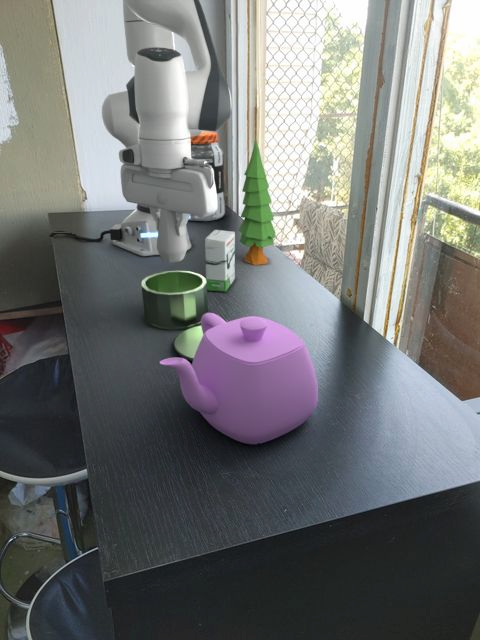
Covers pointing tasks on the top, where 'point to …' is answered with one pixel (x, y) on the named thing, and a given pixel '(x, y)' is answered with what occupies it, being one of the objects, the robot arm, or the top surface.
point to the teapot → (249, 378)
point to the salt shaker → (169, 235)
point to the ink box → (220, 260)
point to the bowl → (174, 299)
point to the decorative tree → (256, 211)
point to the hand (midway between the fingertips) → (170, 232)
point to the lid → (188, 342)
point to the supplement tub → (213, 154)
